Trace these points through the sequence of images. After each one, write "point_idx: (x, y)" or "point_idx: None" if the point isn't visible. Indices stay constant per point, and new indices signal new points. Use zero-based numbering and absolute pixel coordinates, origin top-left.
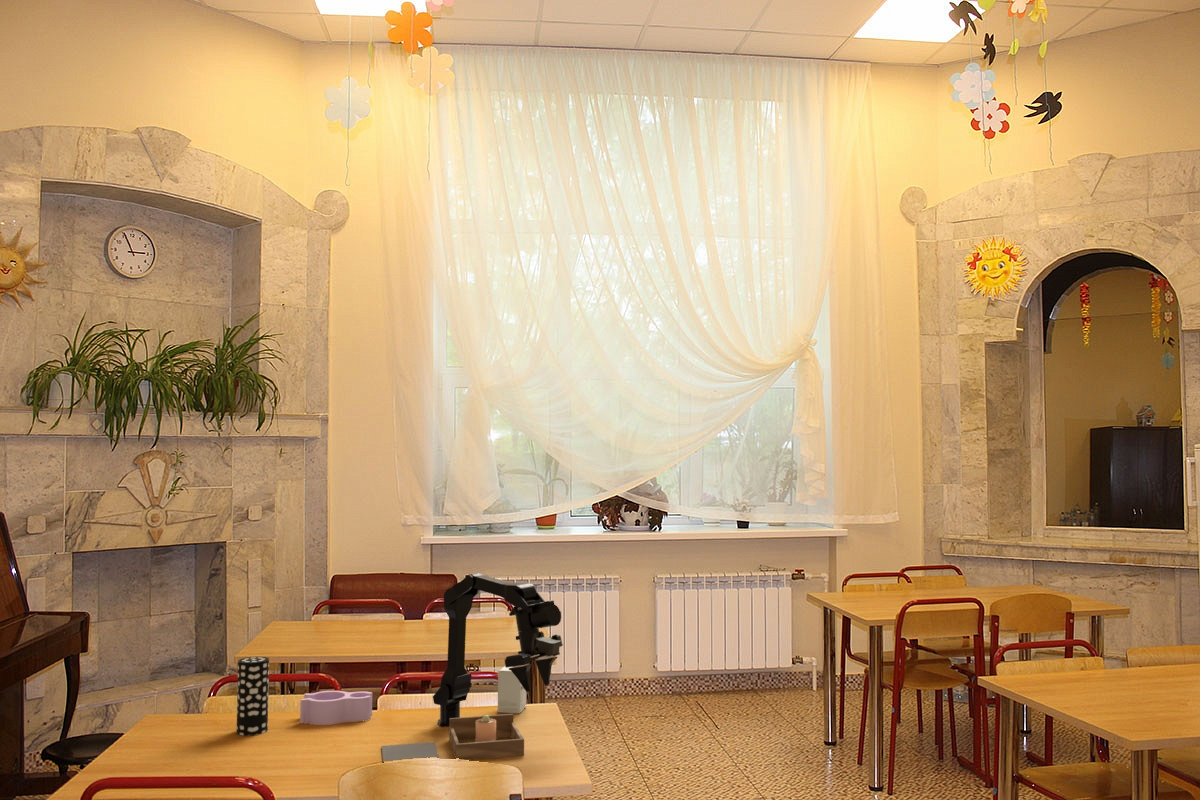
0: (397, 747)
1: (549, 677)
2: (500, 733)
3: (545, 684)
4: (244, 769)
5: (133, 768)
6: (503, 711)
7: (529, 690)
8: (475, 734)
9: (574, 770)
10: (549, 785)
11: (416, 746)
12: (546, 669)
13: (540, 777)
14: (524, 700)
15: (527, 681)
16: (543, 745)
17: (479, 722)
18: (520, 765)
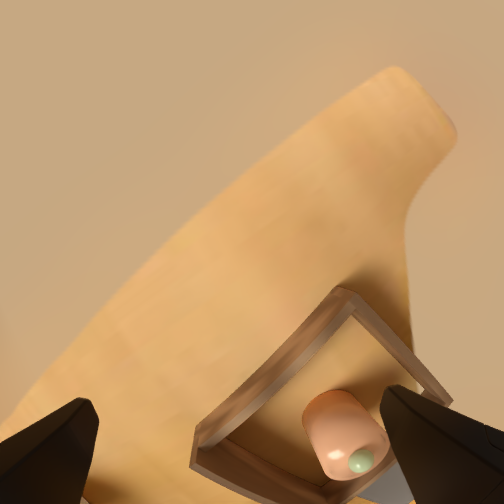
0: (402, 495)
1: (41, 423)
2: (232, 447)
3: (95, 422)
4: None
5: None
6: (83, 499)
7: (399, 386)
8: (285, 478)
9: (353, 95)
10: (441, 112)
11: (389, 488)
12: (23, 493)
13: (429, 147)
14: None
15: (467, 418)
16: (219, 294)
17: (377, 456)
18: (404, 236)
